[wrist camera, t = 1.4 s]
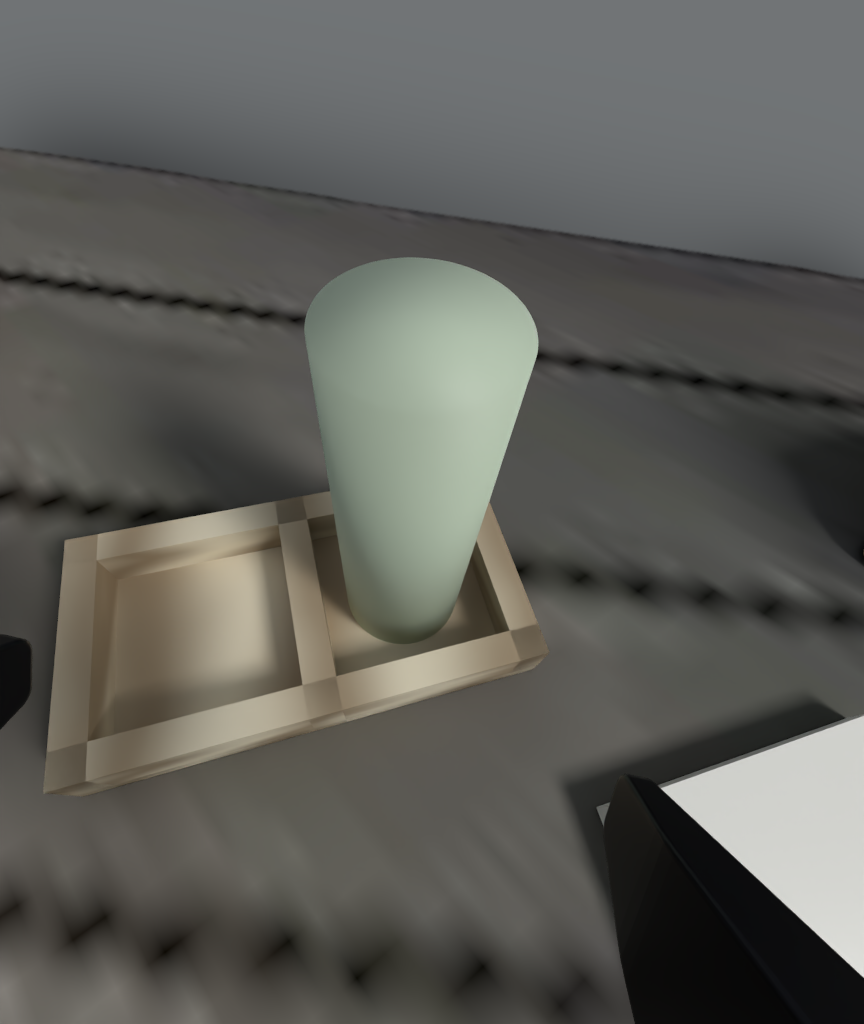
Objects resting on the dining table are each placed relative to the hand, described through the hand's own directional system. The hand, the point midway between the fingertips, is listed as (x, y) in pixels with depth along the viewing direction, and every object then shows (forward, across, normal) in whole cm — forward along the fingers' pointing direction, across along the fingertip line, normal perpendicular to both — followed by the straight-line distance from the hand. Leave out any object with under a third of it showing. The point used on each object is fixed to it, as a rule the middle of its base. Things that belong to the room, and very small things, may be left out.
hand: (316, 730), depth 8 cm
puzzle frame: (+13, +4, +5) cm, 15 cm away
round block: (+14, 0, +4) cm, 15 cm away
